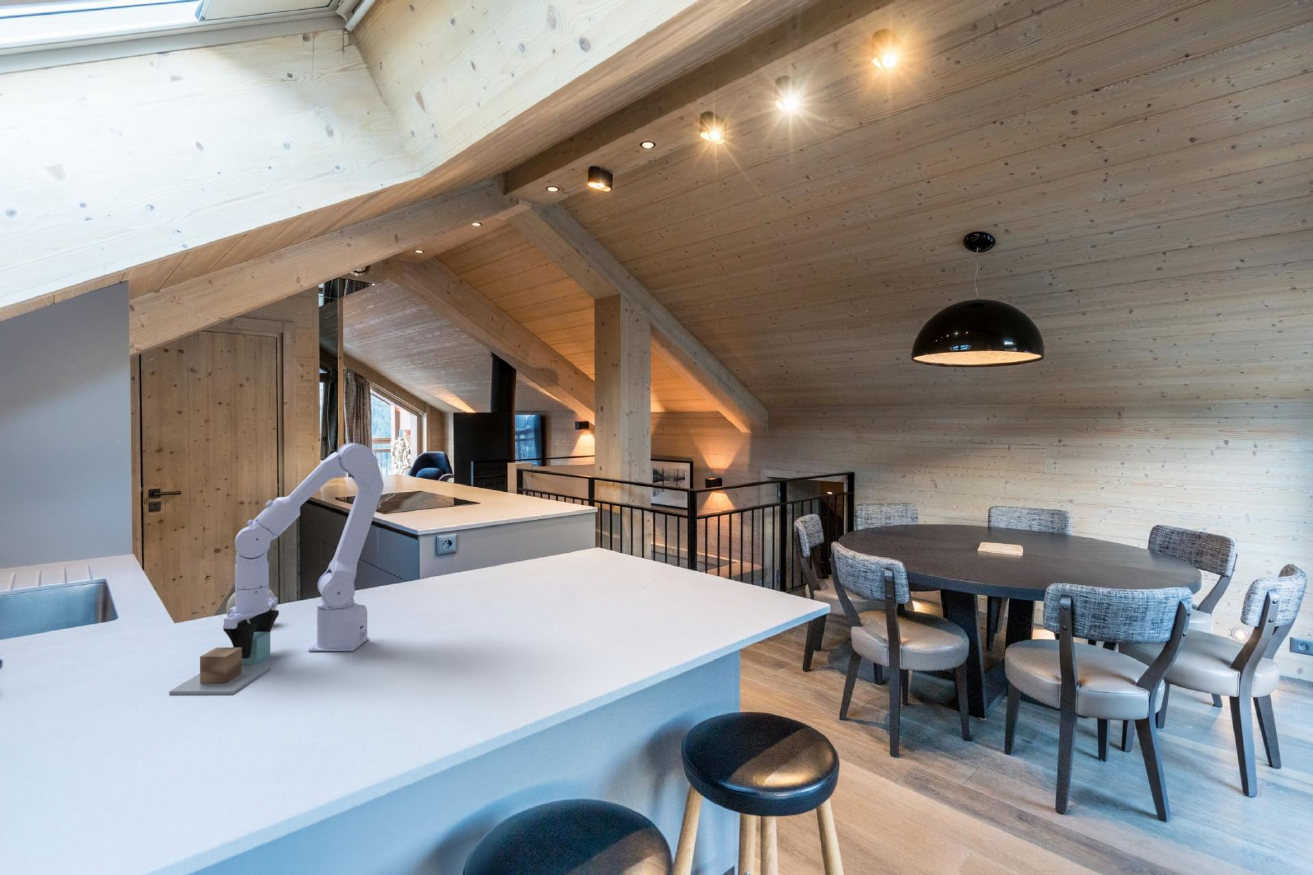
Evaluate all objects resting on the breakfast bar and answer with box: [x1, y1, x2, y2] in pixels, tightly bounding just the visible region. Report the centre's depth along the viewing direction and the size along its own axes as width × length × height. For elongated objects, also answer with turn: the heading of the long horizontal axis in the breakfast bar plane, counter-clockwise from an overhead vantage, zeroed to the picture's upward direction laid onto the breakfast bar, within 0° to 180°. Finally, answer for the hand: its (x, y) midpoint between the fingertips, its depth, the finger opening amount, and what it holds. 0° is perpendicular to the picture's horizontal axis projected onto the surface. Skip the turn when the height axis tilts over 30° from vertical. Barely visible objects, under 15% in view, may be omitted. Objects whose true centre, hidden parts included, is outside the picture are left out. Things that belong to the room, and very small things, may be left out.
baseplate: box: [168, 666, 270, 696], centre depth 116 cm, size 11×11×1 cm
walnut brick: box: [199, 646, 243, 684], centre depth 116 cm, size 5×5×5 cm
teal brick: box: [242, 632, 271, 665], centre depth 127 cm, size 5×5×5 cm
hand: (252, 652), depth 127 cm, fingers open, 5 cm apart
